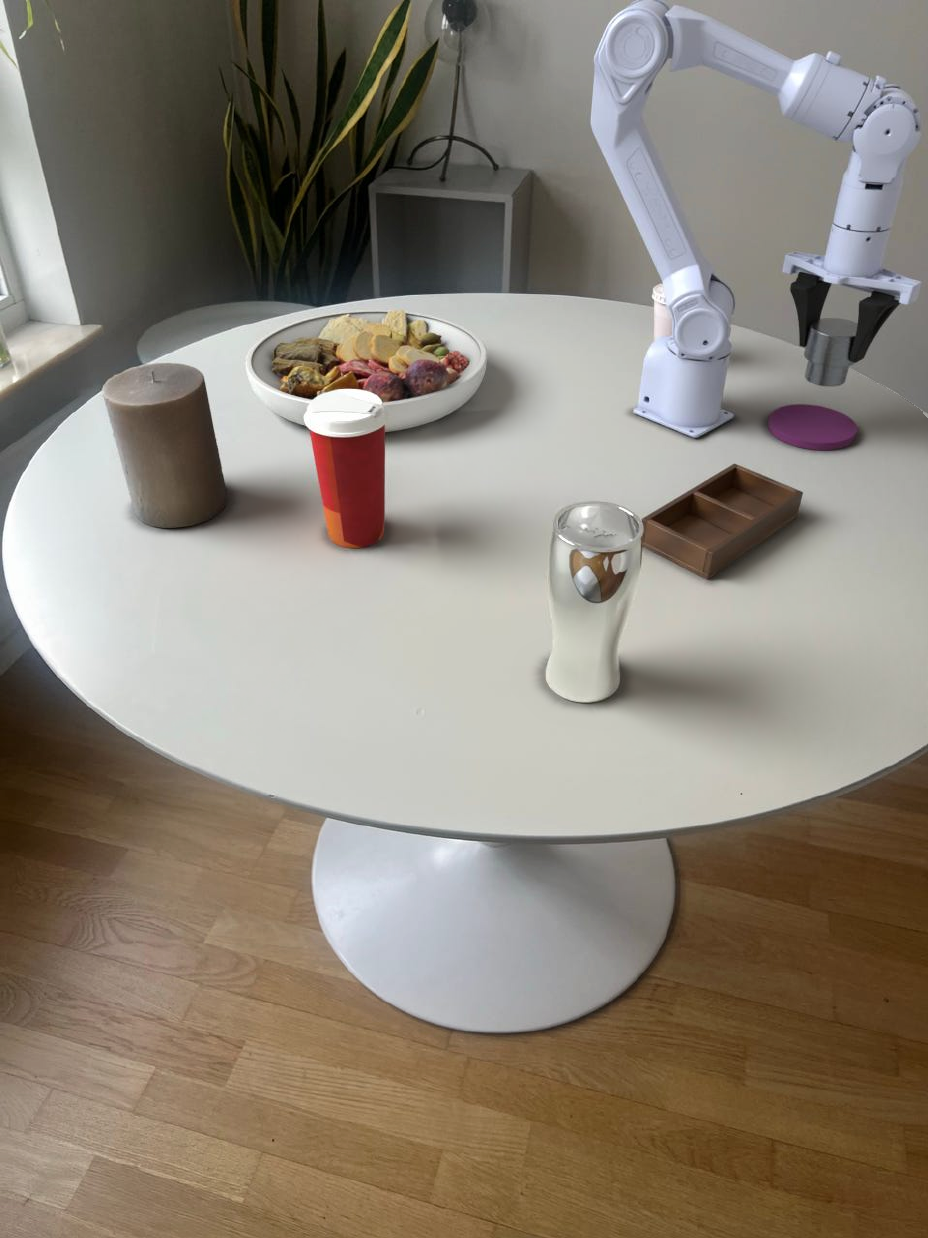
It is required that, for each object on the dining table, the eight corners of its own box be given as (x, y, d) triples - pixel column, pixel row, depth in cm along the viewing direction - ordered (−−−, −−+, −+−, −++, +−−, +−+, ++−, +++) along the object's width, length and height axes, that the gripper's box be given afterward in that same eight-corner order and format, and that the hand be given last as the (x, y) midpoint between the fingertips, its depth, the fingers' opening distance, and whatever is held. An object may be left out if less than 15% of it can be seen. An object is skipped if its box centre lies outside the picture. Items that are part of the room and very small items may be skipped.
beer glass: (534, 652, 79) (543, 501, 70) (615, 648, 80) (634, 497, 70) (546, 710, 74) (558, 553, 64) (633, 704, 74) (657, 548, 65)
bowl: (206, 386, 121) (195, 327, 116) (387, 327, 136) (385, 272, 131) (345, 472, 103) (339, 406, 98) (534, 393, 119) (537, 333, 114)
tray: (638, 544, 92) (641, 518, 90) (729, 487, 101) (734, 462, 99) (707, 579, 87) (712, 553, 86) (797, 517, 96) (803, 491, 94)
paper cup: (406, 520, 96) (400, 392, 87) (376, 560, 90) (367, 428, 81) (336, 506, 98) (324, 381, 89) (303, 545, 92) (286, 415, 83)
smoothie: (691, 372, 124) (708, 265, 115) (642, 368, 125) (655, 262, 116) (691, 353, 129) (708, 249, 120) (645, 350, 130) (657, 246, 121)
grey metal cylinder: (789, 378, 106) (801, 327, 102) (815, 364, 109) (827, 313, 105) (834, 393, 103) (848, 340, 99) (859, 378, 106) (873, 326, 102)
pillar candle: (245, 504, 98) (222, 369, 89) (163, 541, 93) (129, 401, 83) (196, 471, 103) (169, 341, 94) (115, 504, 98) (78, 369, 89)
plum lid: (751, 429, 111) (752, 421, 110) (795, 403, 116) (797, 396, 116) (827, 459, 105) (829, 451, 105) (870, 430, 111) (873, 423, 110)
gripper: (778, 218, 98) (754, 343, 106) (912, 248, 89) (874, 381, 98) (813, 204, 101) (787, 326, 110) (944, 232, 93) (906, 362, 102)
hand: (830, 351), depth 104 cm, fingers closed on grey metal cylinder, 5 cm apart
